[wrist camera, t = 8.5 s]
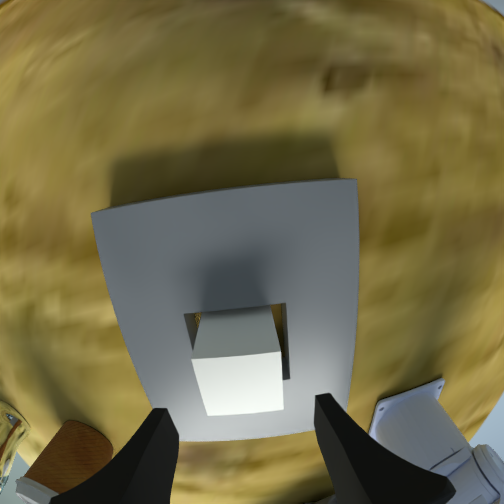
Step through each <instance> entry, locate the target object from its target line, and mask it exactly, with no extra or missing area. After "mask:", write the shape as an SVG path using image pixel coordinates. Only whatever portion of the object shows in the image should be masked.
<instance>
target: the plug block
mask: <svg viewBox="0 0 504 504" xmlns="http://www.w3.org/2000/svg"><path fill="white" fill-rule="evenodd" d="M191 360H192V364H193V368H194V372H195V375H196V379H197V382H198V386H199V389H200V393H201V396H202V399H203V403H204V406H205V409H206V412H207V415H208V416H218V415H236V414H249V413H260V412H269V411H277V410H284V404H283V382H282V362H281V350H280V345H279V341H278V337H277V333H276V328H275V324H274V320H273V316H272V311H271V307H270V305H263V306H255V307H246V308H237V309H228V310H219V311H208V312H202V315H201V319H200V323H199V327H198V332H197V336H196V340H195V344H194V349H193V353H192V358H191Z"/></svg>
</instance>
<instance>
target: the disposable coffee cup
mask: <svg viewBox="0 0 504 504" xmlns="http://www.w3.org/2000/svg"><path fill="white" fill-rule="evenodd" d="M112 454H113V446H112V445H111V443H110V442H109V441H108V440H107V439H106V438H105V437H104V436H103V435H102V434H100V433H99V432H98V431H96V430H95V429H93V428H91V427H89V426H87V425H85V424H83V423H80V422H77V421H67V422H65V423H64V425H63V426H62V427H61V428H60V430H59V431H58V432H57V433H56V435H55V436H54V437H53V439H52V440H51V441H50V442H49V444H48V445H47V446H46V447H45V449H44V450H43V451H42V453H41V454H40V455H39V457H38V458H37V459H36V461H35V462H34V463H33V465H32V466H31V467H30V468H29V470H28V471H27V473H26V474H25V475H24V476H23V477H20V479H17V480H16V484H17V488H16V494H17V495H18V497H19V498H20V499H22V500H23V501H24V502H25V503H26V504H49V502H50V499H51V497H54V496H56V495H59V494H61V493H63V492H66V491H68V490H70V489H72V488H74V487H76V486H77V485H79V484H81V483H82V482H84V481H86V480H87V479H89V478H90V477H91V476H93V475H94V474H95V473H97V472H98V471H99V470H100V469H102V468H103V467H104V466H105V465H106V464H107V463H109V462H110V461H111V459H112Z"/></svg>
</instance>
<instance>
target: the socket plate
mask: <svg viewBox="0 0 504 504" xmlns="http://www.w3.org/2000/svg"><path fill="white" fill-rule="evenodd" d="M91 218H92V223H93V228H94V233H95V238H96V243H97V248H98V252H99V256H100V261H101V265H102V269H103V273H104V277H105V280H106V284H107V288H108V291H109V295H110V298H111V301H112V305H113V308H114V311H115V314H116V317H117V321H118V324H119V327H120V329H121V332H122V335H123V338H124V341H125V344H126V346H127V349H128V352H129V354H130V357H131V359H132V362H133V364H134V367H135V369H136V372H137V374H138V377H139V379H140V381H141V384H142V386H143V388H144V391H145V393H146V395H147V397H148V399H149V401H150V404H151V406H152V408H167V409H168V412H169V414H170V416H171V418H172V420H173V423H174V425H175V427H176V429H177V431H178V433H179V441H227V440H243V439H255V438H264V437H273V436H280V435H287V434H294V433H300V432H306V431H311V430H315V427H314V408H315V395H319V394H324V393H331V394H332V396H333V397H334V398H335V400H336V401H337V402H338V403H339V405H340V406H341V407H342V408H343V409H344V410H345V412H346V411H347V404H348V398H349V391H350V384H351V376H352V368H353V359H354V349H355V339H356V326H357V311H358V290H359V213H358V192H357V179H350V178H328V179H313V180H300V181H288V182H277V183H266V184H257V185H248V186H239V187H230V188H223V189H215V190H207V191H200V192H193V193H187V194H180V195H174V196H168V197H161V198H156V199H150V200H144V201H139V202H133V203H128V204H123V205H118V206H113V207H108V208H105V209H102V210H99V211H96V212H92V213H91ZM279 303H281V309H282V323H283V337H284V352H285V357H281V362H282V382H283V404H284V410H277V411H269V412H260V413H249V414H236V415H218V416H208V415H207V412H206V409H205V406H204V403H203V399H202V396H201V393H200V389H199V386H198V382H197V379H196V375H195V372H194V368H193V364H192V360H191V358H192V353H193V349H194V344H195V340H196V336H197V332H198V328H197V324H196V320H195V315H194V313H197V312H208V311H219V310H228V309H237V308H246V307H255V306H263V305H271V304H279Z"/></svg>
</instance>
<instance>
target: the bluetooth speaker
mask: <svg viewBox="0 0 504 504" xmlns="http://www.w3.org/2000/svg"><path fill="white" fill-rule="evenodd" d="M304 504H337V500H336V495H335V494H334V495H331V496H329V497H327V498H324V499H322V500H320V501H318V502H316V503H304Z"/></svg>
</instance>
